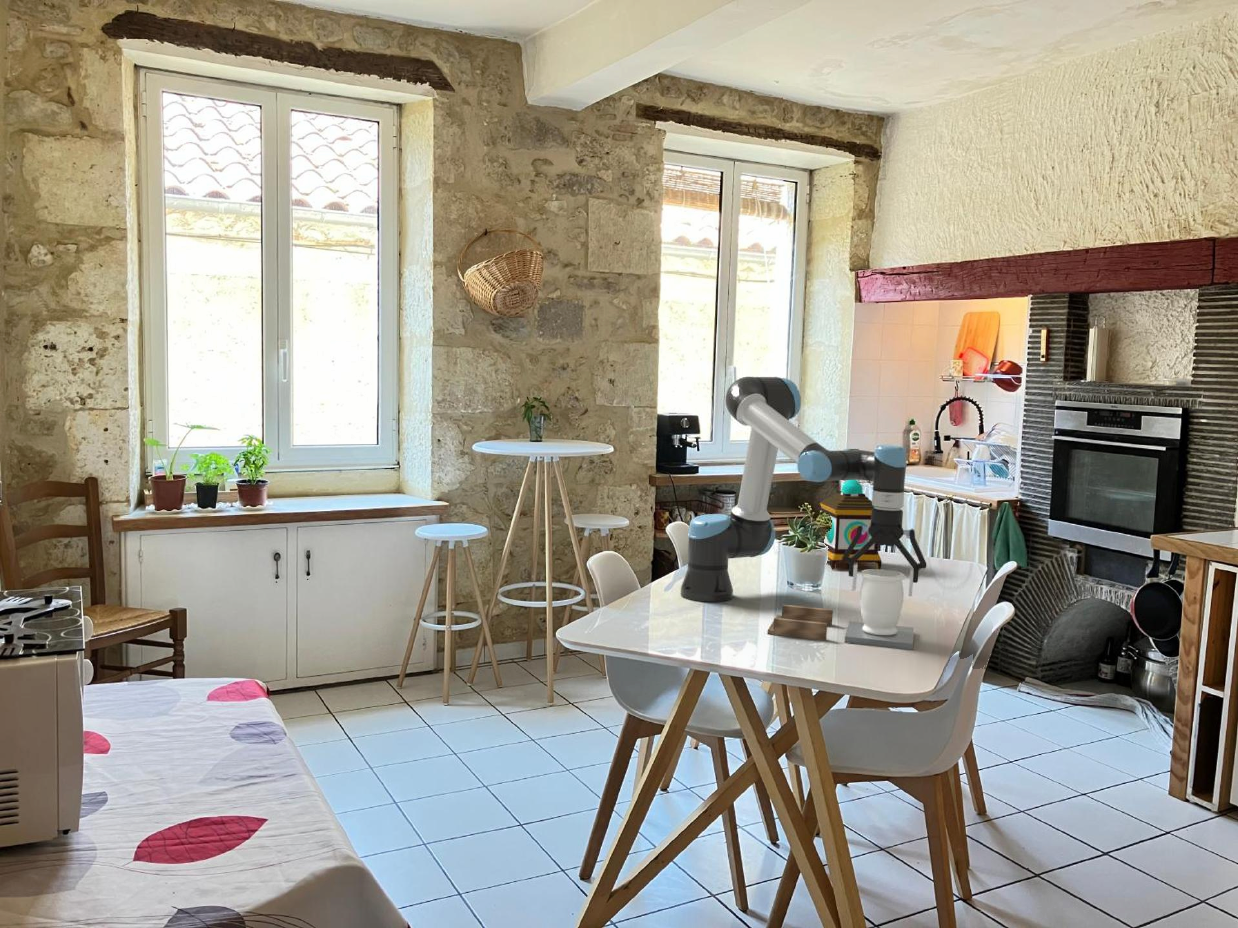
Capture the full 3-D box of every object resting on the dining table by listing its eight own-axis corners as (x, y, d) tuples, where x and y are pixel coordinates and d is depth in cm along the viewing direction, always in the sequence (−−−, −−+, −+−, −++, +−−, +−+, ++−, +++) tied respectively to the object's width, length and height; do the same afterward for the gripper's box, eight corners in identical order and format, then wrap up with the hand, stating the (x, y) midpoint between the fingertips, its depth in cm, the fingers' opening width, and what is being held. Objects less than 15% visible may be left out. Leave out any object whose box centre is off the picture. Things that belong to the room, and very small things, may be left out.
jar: (877, 639, 240) (881, 578, 238) (849, 628, 249) (852, 570, 247) (910, 634, 245) (913, 575, 243) (881, 624, 254) (884, 567, 252)
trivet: (844, 642, 242) (844, 636, 242) (849, 626, 257) (849, 620, 257) (912, 649, 237) (912, 643, 237) (913, 633, 252) (913, 627, 252)
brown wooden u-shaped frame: (767, 633, 247) (768, 618, 247) (777, 618, 263) (777, 603, 262) (825, 640, 243) (826, 624, 242) (832, 624, 258) (832, 609, 258)
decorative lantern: (811, 559, 348) (815, 474, 345) (865, 559, 350) (870, 475, 347) (829, 571, 328) (834, 481, 325) (886, 571, 330) (891, 482, 327)
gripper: (834, 506, 244) (829, 590, 246) (940, 514, 236) (934, 600, 239) (837, 502, 251) (832, 584, 253) (940, 509, 244) (934, 594, 246)
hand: (882, 592), depth 246 cm, fingers open, 13 cm apart
